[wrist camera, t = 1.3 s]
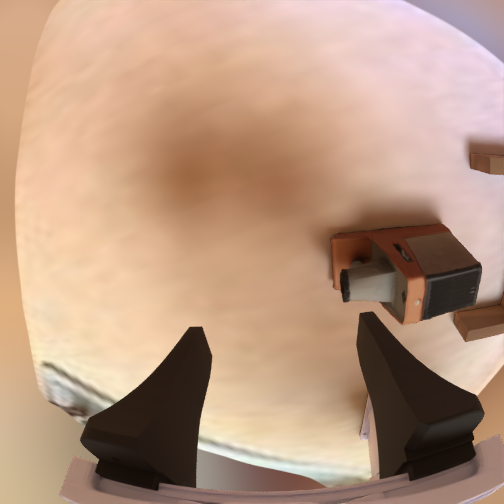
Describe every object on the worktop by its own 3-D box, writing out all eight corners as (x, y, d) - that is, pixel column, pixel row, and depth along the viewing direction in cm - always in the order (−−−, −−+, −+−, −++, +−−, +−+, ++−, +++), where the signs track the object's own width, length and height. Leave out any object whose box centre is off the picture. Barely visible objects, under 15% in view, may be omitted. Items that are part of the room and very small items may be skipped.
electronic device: (328, 230, 22) (341, 275, 15) (443, 220, 20) (492, 257, 13) (332, 283, 24) (342, 342, 17) (440, 270, 22) (480, 319, 15)
